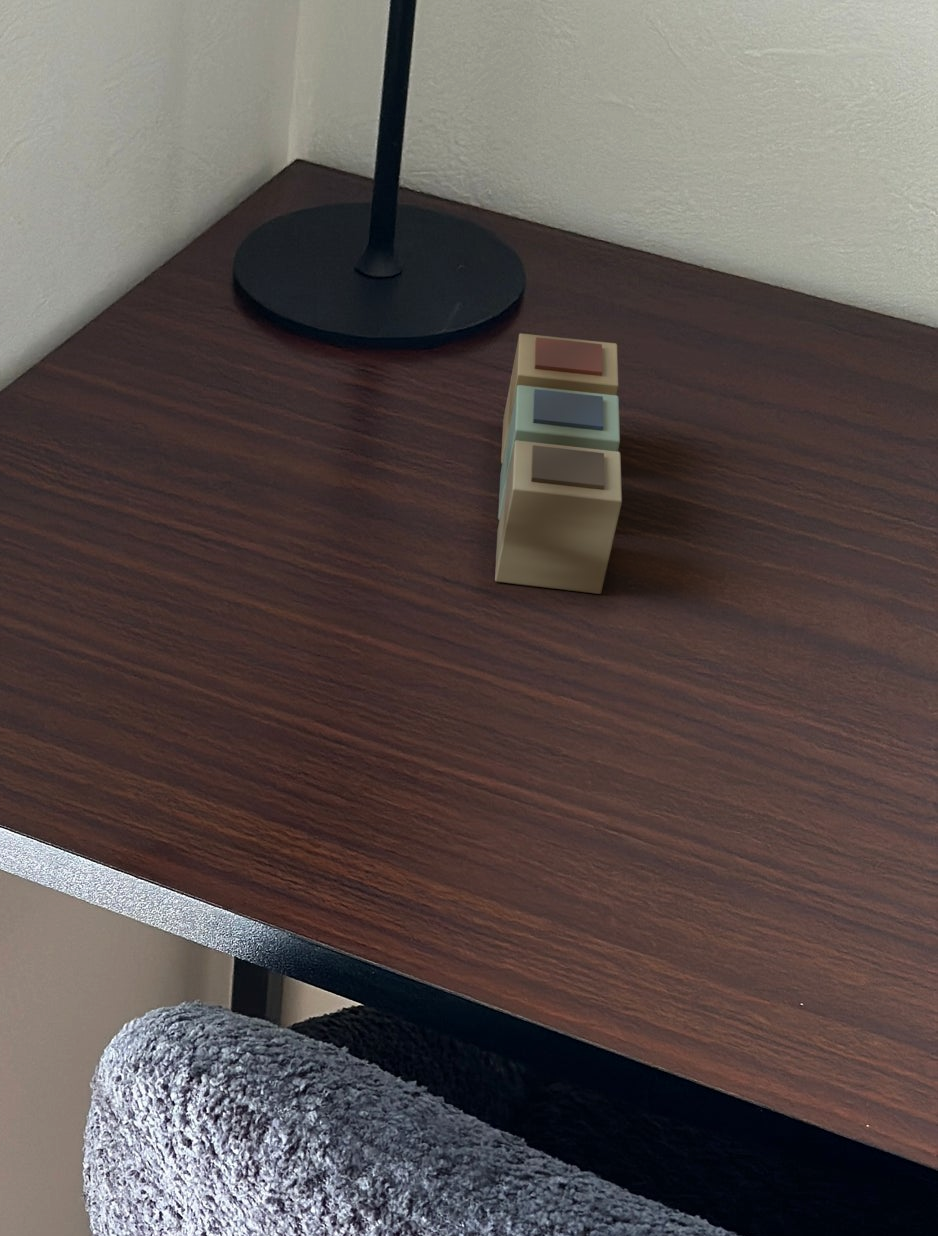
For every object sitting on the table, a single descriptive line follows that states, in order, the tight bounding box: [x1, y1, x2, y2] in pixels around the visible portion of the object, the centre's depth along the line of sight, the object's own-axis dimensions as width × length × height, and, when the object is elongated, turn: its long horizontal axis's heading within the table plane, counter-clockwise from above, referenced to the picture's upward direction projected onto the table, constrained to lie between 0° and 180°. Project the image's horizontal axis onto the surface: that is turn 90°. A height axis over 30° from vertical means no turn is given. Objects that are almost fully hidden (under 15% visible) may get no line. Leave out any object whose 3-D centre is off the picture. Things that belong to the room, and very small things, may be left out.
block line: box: [494, 333, 623, 595], centre depth 105 cm, size 4×16×5 cm, turn 169°
